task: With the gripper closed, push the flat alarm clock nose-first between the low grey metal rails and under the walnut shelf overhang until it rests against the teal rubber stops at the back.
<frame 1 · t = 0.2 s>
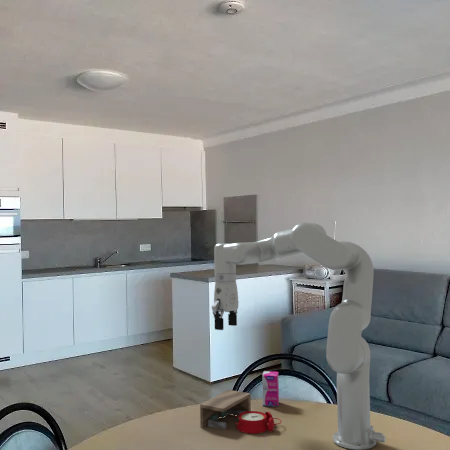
hand: (226, 327, 169), 31 cm above the table, tool pointing down, fingers open, 9 cm apart
overhang shelf: (232, 422, 162), on the table
alarm clock: (257, 429, 157), on the table
supplement box: (270, 404, 180), on the table
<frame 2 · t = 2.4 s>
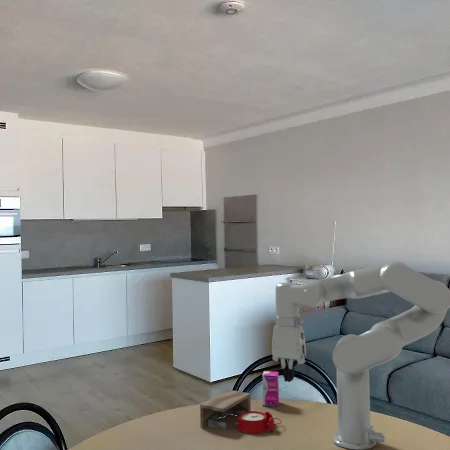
hand: (288, 380, 152), 17 cm above the table, tool pointing down, fingers closed
nothing on the table moved.
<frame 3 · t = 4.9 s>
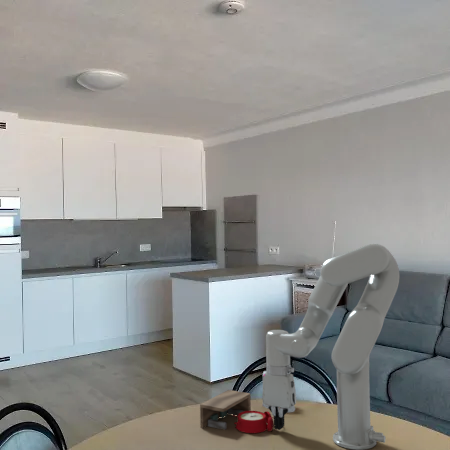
hand: (279, 428, 153), 1 cm above the table, tool pointing down, fingers closed
nothing on the table moved.
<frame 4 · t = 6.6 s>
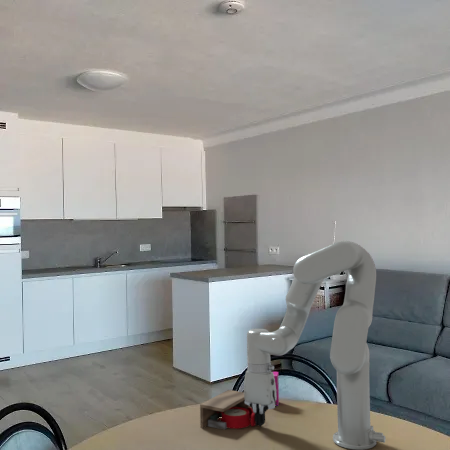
hand: (260, 424, 157), 1 cm above the table, tool pointing down, fingers closed
alarm clock: (240, 424, 161), on the table, touching overhang shelf
everything else where it was.
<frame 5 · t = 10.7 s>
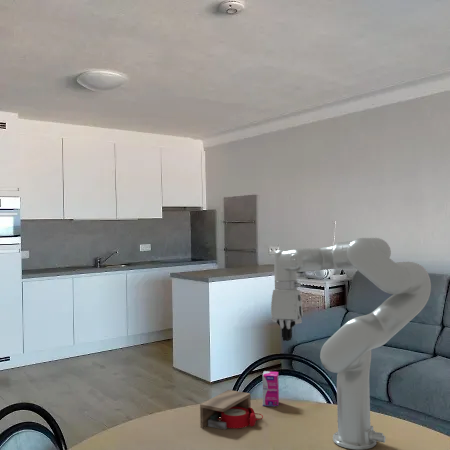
hand: (287, 340, 163), 27 cm above the table, tool pointing down, fingers closed
alarm clock: (240, 424, 161), on the table
everything else where it was.
at the end: alarm clock 0.9 cm from the target spot, on the table; alarm clock tilted 0° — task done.
